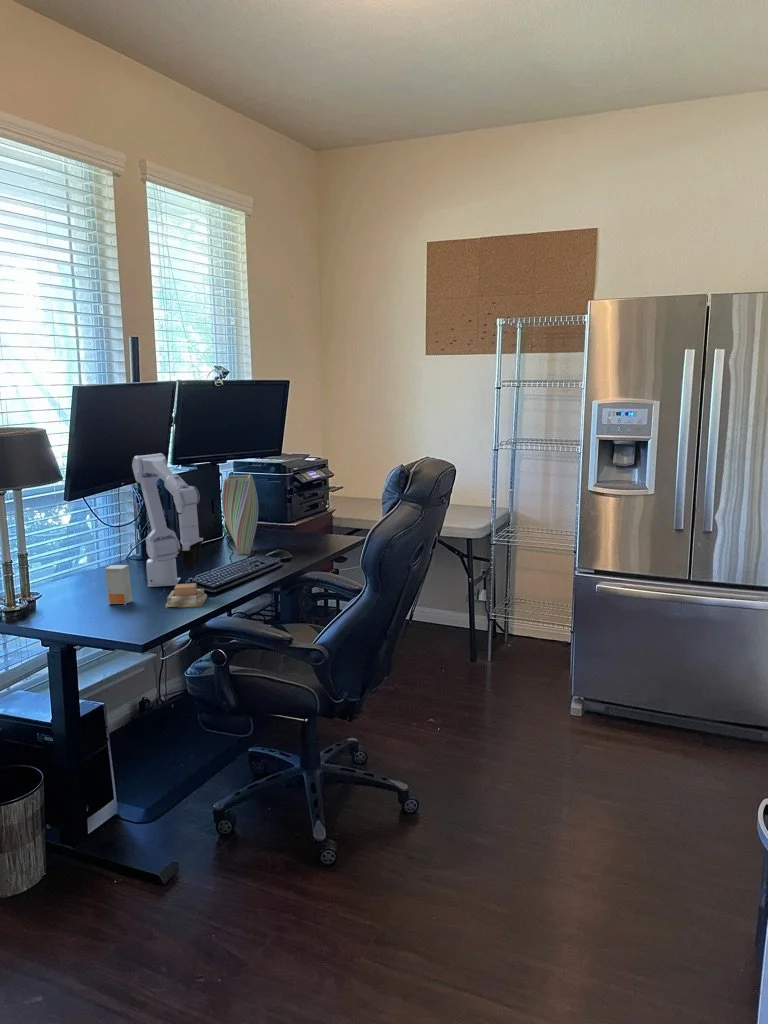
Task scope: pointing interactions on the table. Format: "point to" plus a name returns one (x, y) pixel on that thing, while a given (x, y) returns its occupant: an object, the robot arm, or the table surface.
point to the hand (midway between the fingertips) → (192, 566)
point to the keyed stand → (186, 599)
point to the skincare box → (118, 584)
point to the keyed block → (186, 589)
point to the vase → (240, 510)
